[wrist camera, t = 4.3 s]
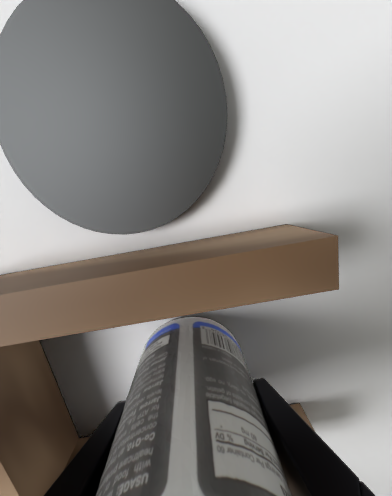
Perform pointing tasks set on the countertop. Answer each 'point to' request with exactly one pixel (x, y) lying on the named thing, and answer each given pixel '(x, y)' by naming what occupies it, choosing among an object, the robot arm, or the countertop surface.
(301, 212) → the countertop surface
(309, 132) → the countertop surface
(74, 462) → the robot arm
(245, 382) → the pill bottle
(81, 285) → the nook
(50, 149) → the coaster
